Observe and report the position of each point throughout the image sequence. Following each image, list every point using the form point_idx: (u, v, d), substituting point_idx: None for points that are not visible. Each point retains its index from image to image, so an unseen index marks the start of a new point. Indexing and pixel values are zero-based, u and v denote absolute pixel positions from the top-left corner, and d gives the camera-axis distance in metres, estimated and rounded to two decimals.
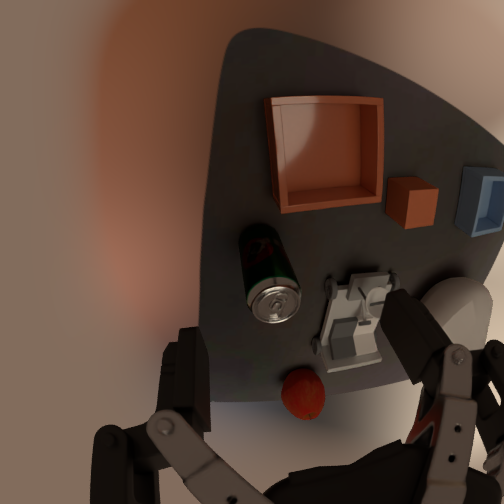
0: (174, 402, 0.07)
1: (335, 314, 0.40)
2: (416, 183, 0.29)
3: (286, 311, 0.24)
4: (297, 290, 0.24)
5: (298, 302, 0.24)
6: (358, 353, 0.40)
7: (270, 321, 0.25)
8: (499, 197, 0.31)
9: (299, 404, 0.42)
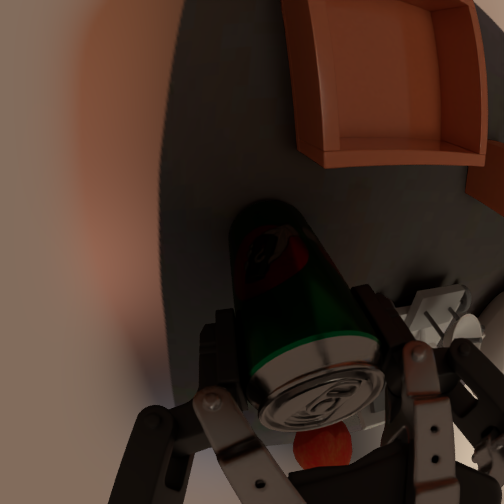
0: (219, 378, 0.08)
1: None
2: None
3: (346, 410, 0.08)
4: (380, 362, 0.08)
5: (378, 389, 0.08)
6: None
7: (302, 428, 0.09)
8: None
9: (319, 464, 0.26)
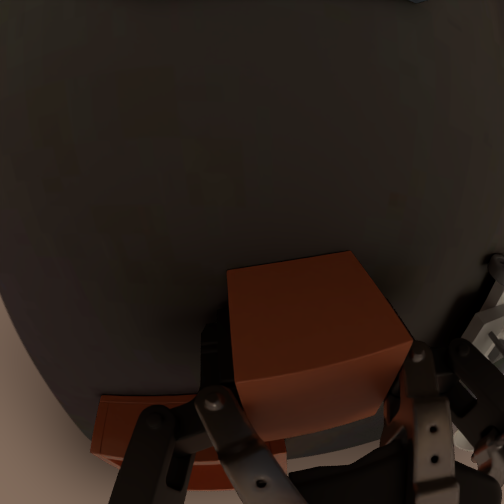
0: (221, 377, 0.08)
1: None
2: None
3: None
4: None
5: None
6: None
7: None
8: None
9: None
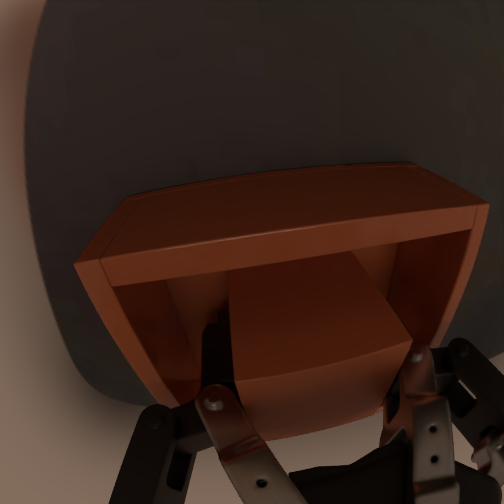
0: (221, 377, 0.08)
1: None
2: None
3: None
4: None
5: None
6: None
7: None
8: None
9: None
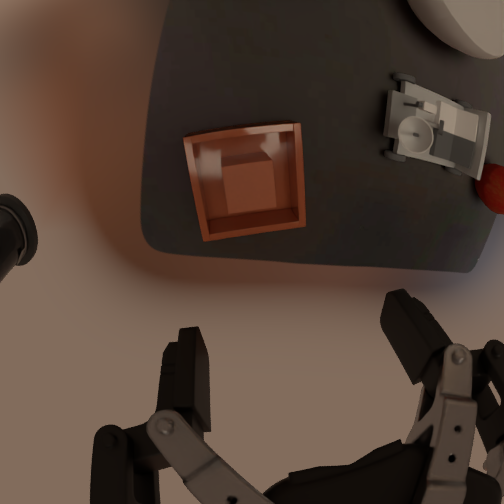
0: (174, 402, 0.07)
1: (424, 152, 0.30)
2: None
3: None
4: None
5: None
6: (473, 138, 0.25)
7: None
8: None
9: (503, 206, 0.28)
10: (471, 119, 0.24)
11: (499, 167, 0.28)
